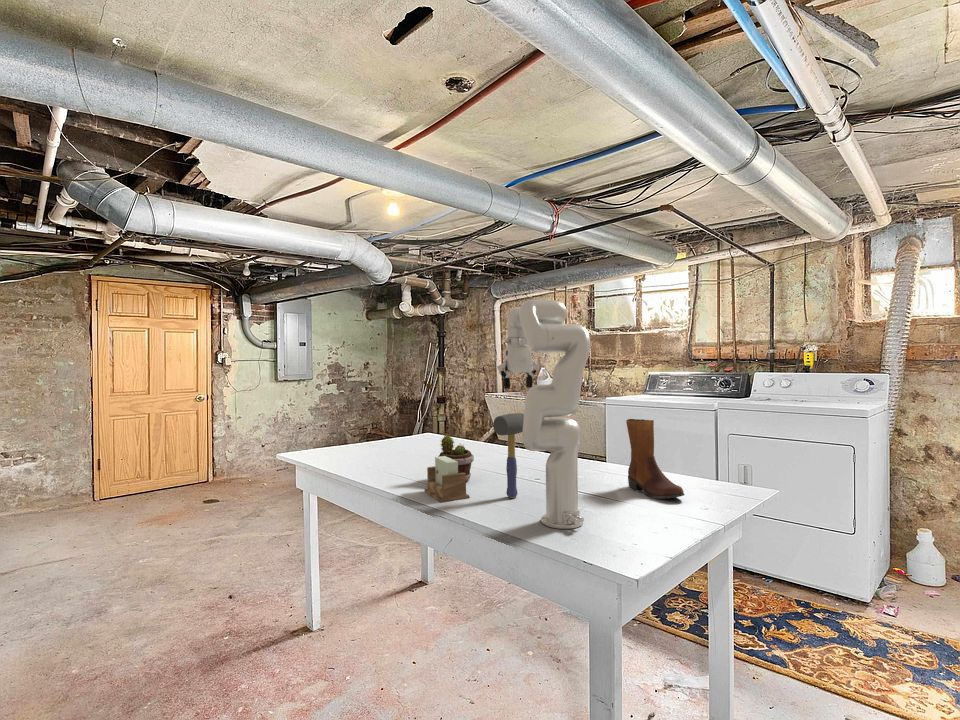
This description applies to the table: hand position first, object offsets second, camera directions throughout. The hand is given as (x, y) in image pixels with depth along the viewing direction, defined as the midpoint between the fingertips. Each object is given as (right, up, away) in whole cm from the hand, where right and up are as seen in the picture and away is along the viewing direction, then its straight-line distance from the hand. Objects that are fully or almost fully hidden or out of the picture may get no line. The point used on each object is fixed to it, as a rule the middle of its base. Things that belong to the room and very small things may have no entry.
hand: (518, 388), depth 190 cm
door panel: (-27, -38, -6) cm, 46 cm away
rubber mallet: (-3, -39, -10) cm, 40 cm away
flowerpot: (-24, -39, +14) cm, 48 cm away
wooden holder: (-27, -39, -5) cm, 47 cm away
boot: (+48, -38, -8) cm, 62 cm away
